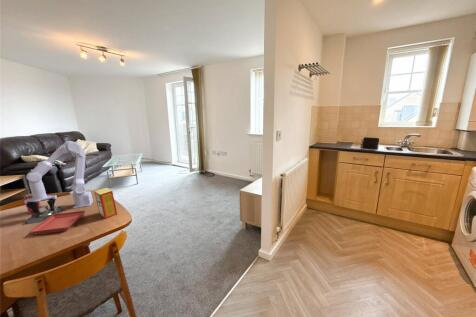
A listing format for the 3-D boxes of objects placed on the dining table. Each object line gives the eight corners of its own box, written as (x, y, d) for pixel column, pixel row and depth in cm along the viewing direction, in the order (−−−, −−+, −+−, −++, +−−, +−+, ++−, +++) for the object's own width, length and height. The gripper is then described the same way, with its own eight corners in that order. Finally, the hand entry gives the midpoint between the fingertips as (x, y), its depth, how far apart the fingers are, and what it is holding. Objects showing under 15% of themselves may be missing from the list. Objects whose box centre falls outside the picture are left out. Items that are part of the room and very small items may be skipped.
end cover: (56, 212, 125) (53, 202, 123) (50, 218, 119) (47, 207, 117) (42, 215, 123) (39, 205, 121) (35, 220, 116) (32, 210, 114)
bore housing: (62, 209, 128) (61, 205, 127) (53, 219, 117) (52, 214, 117) (39, 213, 124) (37, 209, 123) (27, 223, 113) (26, 219, 112)
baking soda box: (99, 214, 121) (94, 190, 117) (111, 209, 126) (106, 187, 122) (105, 219, 115) (99, 194, 111) (117, 214, 120) (112, 190, 116)
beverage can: (44, 209, 130) (39, 192, 127) (34, 214, 124) (28, 197, 121) (36, 209, 130) (31, 192, 127) (25, 214, 124) (20, 196, 121)
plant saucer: (29, 237, 101) (27, 231, 100) (54, 218, 118) (53, 213, 117) (69, 232, 104) (67, 226, 103) (87, 214, 121) (86, 210, 120)
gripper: (18, 196, 110) (25, 217, 114) (50, 191, 115) (56, 211, 119) (25, 191, 117) (32, 211, 120) (56, 187, 122) (61, 206, 125)
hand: (44, 211), depth 120 cm, fingers open, 7 cm apart
